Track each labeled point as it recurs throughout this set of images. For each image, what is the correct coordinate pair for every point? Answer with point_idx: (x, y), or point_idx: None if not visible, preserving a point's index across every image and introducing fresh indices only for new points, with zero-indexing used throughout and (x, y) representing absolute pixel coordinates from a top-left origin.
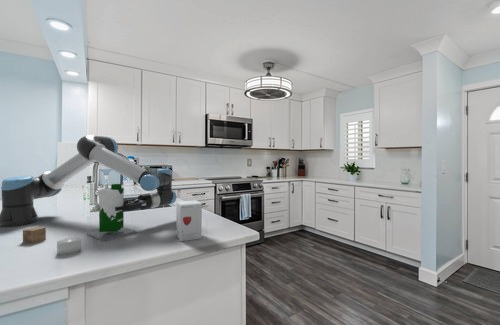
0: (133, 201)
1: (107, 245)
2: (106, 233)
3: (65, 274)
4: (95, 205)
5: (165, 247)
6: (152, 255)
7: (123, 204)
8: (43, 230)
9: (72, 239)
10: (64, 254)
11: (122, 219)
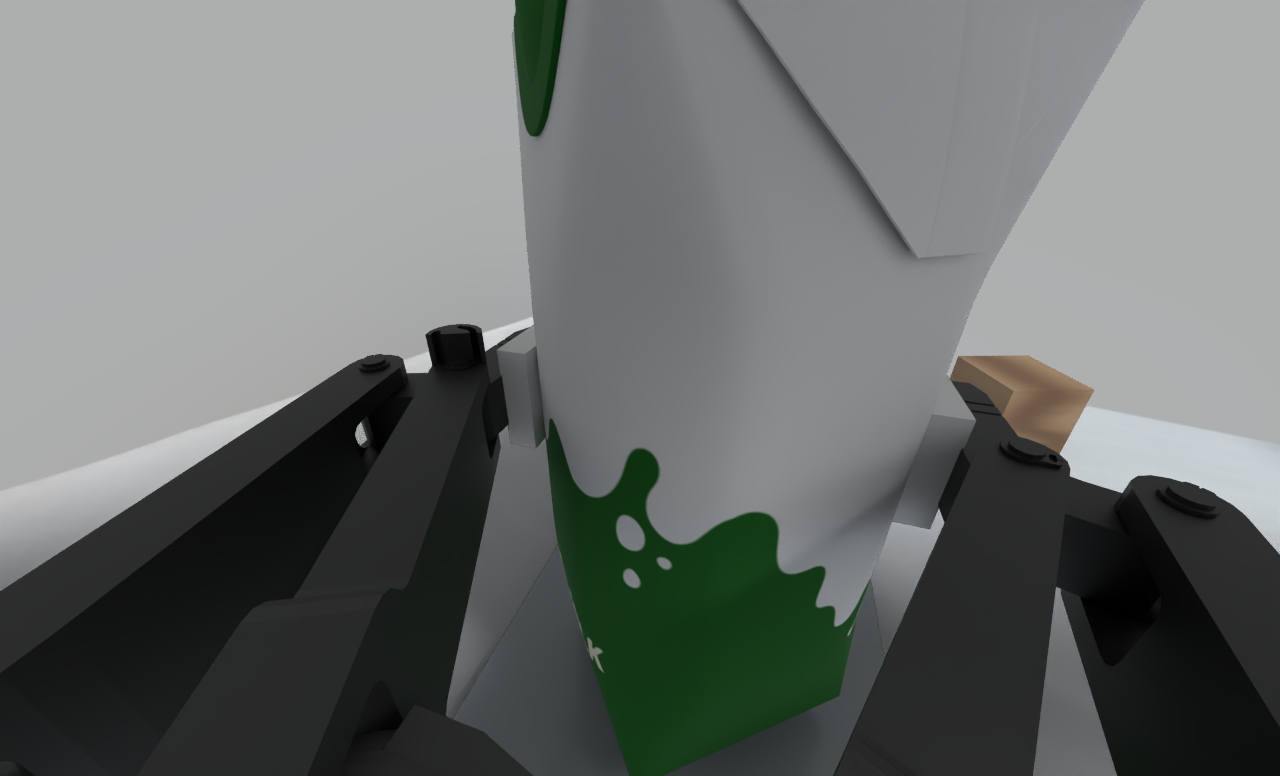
0: (325, 593)
1: (512, 470)
2: None
3: (492, 334)
4: None
5: (54, 525)
6: (184, 438)
7: (469, 344)
8: (996, 399)
9: None
10: None
11: (576, 614)
